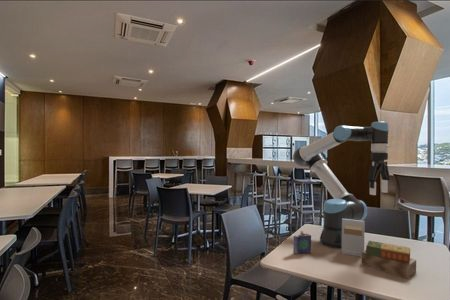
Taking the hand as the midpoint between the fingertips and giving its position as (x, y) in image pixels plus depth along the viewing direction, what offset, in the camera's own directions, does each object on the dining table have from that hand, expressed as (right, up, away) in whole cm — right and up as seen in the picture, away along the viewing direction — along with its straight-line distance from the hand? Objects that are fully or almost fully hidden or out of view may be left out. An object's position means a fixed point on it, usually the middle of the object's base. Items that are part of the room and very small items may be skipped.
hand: (378, 193), depth 139 cm
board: (-16, -29, -6) cm, 33 cm away
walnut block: (-8, -29, -21) cm, 36 cm away
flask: (-41, -28, -6) cm, 50 cm away
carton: (-8, -24, -21) cm, 33 cm away
